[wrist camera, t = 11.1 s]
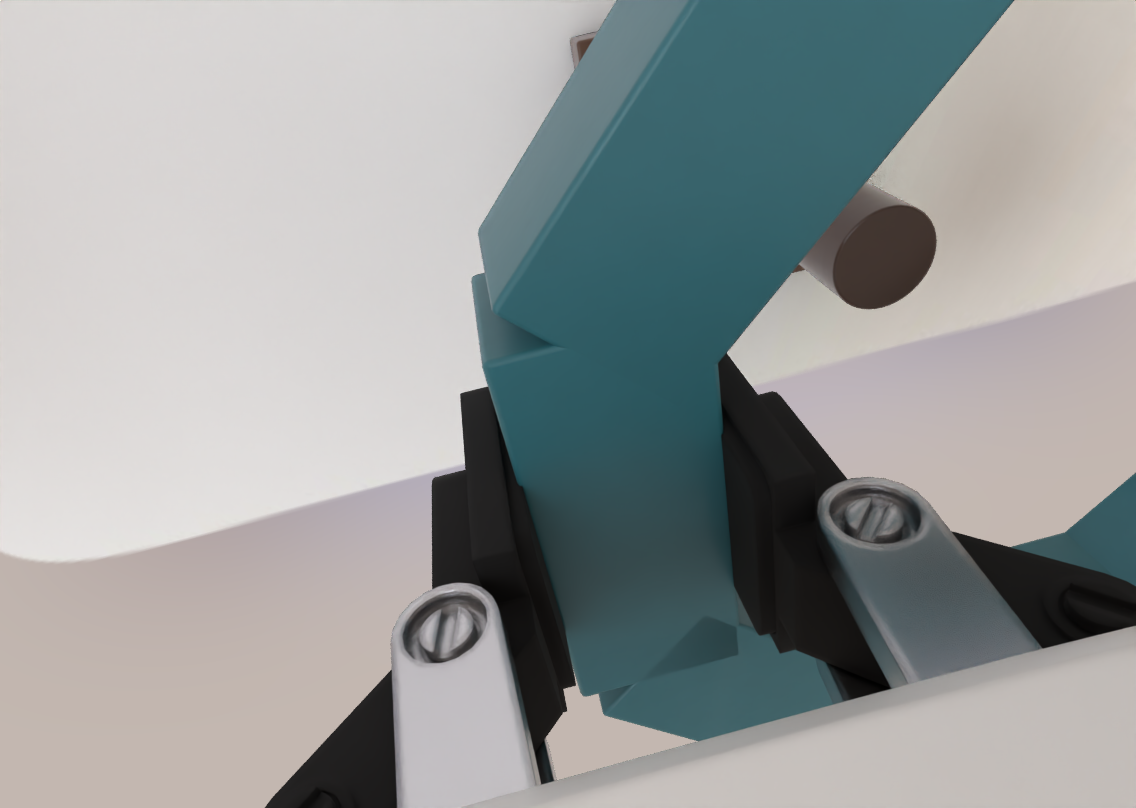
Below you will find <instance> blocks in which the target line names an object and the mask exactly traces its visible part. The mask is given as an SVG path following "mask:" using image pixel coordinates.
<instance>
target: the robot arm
mask: <svg viewBox="0 0 1136 808" xmlns="http://www.w3.org/2000/svg"><path fill="white" fill-rule="evenodd" d="M718 370H719V382H720V394H721V406H722V418H723V430H724V431H723V434H722V435H721V438H722V450H723V462H724V474H725V485H726V497H727V509H728V521H729V533H730V545H731V556H732V568H733V580H734V587H735V589H736V591H737V593H738V596H739V598H740V600H741V602H742V604H743V606H744V608H745V610H746V612H747V614H748V616H749V618H750V620H751V622H752V624H753V626H754V628H755V630H756V632H757V633H758V635H760V636H762V635H766V634H770V635H771V637H772V639H773V641H774V643H775V645H776V647H777V649H778V651H779V653H780V654H781V653H785V652H789V651H792V650H797V651H799V652H802V653H804V654H806V655H809V656H811V657H814V658H815V660H816V664H817V667H818V671H819V673H820V676H821V678H822V680H823V682H824V685H825V687H826V689H827V691H828V694H829V696H830V698H831V700H832V703H833V705H830V706H826V707H823V708H819V709H815V710H811V711H808V712H804V713H800V714H797V715H793V716H789V717H786V718H782V719H778V720H775V721H771V722H767V723H764V724H760V725H756V726H753V727H749V728H745V729H742V730H738V731H734V732H731V733H727V734H723V735H720V736H716V737H712V738H709V739H705V740H701V741H698V742H694V743H690V744H687V745H683V746H680V747H676V748H672V749H669V750H665V751H661V752H658V753H654V754H650V755H647V756H643V757H639V758H636V759H632V760H629V761H625V762H622V763H618V764H614V765H611V766H607V767H603V768H600V769H597V770H593V771H589V772H586V773H582V774H578V775H575V776H571V777H568V778H564V779H560V780H557V779H556V775H555V770H554V766H553V762H552V758H551V754H550V749H549V745H548V742H547V740H546V736H547V735H548V733H549V732H550V731H551V729H552V728H553V726H554V725H555V724H556V722H557V720H558V719H559V718H560V716H561V715H562V713H563V712H566V711H567V707H566V702H565V696H564V691H563V689H565V688H568V687H572V686H576V683H575V677H574V672H573V667H572V662H571V657H570V652H569V647H568V642H567V637H566V633H565V629H564V625H563V622H562V618H561V615H560V612H559V608H558V605H557V602H556V598H555V595H554V591H553V588H552V585H551V581H550V578H549V574H548V571H547V568H546V564H545V561H544V558H543V554H542V551H541V547H540V544H539V541H538V537H537V534H536V530H535V527H534V524H533V520H532V517H531V514H530V510H529V507H528V503H527V500H526V497H525V493H524V490H523V486H520V485H519V484H518V483H517V480H516V477H515V474H514V470H513V467H512V464H511V461H510V457H509V454H508V451H507V447H506V444H505V441H504V437H503V434H502V431H501V427H500V424H499V421H498V417H497V414H496V411H495V407H494V404H493V401H492V398H491V394H490V391H489V388H488V387H484V388H480V389H476V390H472V391H468V392H464V393H461V394H460V398H461V412H462V426H463V440H464V455H465V469H466V470H463V471H459V472H455V473H451V474H447V475H443V476H439V477H435V478H434V479H433V480H432V590H430V591H427V592H425V593H424V594H422V595H421V596H420V597H418V598H417V599H415V600H414V601H413V602H411V603H410V604H409V605H408V607H407V608H406V609H405V610H404V611H403V612H402V614H401V615H400V616H399V618H398V620H397V622H396V624H395V626H394V628H393V632H392V639H391V663H392V670H391V671H390V672H389V673H388V674H387V675H386V676H385V677H384V678H383V679H382V680H381V681H380V683H379V684H378V685H377V686H376V687H375V688H374V689H373V690H372V691H371V692H370V693H369V694H368V696H366V698H365V699H364V700H363V701H362V702H361V703H360V704H359V705H358V706H357V707H356V708H355V709H354V710H353V712H352V713H351V714H350V715H349V716H348V717H347V718H346V719H345V720H344V721H343V722H342V723H341V724H340V726H339V727H338V728H337V729H336V730H335V731H334V732H333V733H332V734H331V735H330V736H329V737H328V738H327V739H326V741H325V742H324V743H323V744H322V745H321V746H320V747H319V748H318V749H317V750H316V752H314V754H313V755H312V756H311V757H310V758H309V759H308V760H307V761H306V762H305V763H304V764H303V765H302V766H301V767H300V769H299V770H298V771H297V772H296V773H295V774H294V775H293V776H292V777H291V778H290V779H289V780H288V781H287V783H286V784H285V785H284V786H283V787H282V788H281V789H280V790H279V791H278V792H277V793H276V794H275V796H273V798H272V799H271V800H270V802H269V803H268V804H267V806H266V807H265V808H1136V586H1134V585H1133V584H1131V583H1129V582H1128V581H1125V580H1122V579H1120V578H1117V577H1114V576H1111V575H1109V574H1106V573H1103V572H1099V571H1095V570H1092V569H1088V568H1084V567H1081V566H1077V565H1073V564H1070V563H1066V562H1062V561H1059V560H1055V559H1051V558H1048V557H1044V556H1040V555H1037V554H1033V553H1029V552H1025V551H1022V550H1018V549H1014V548H1011V547H1007V546H1003V545H1000V544H996V543H992V542H989V541H985V540H981V539H977V538H974V537H970V536H967V535H963V534H959V533H956V532H952V531H950V529H949V528H948V527H947V525H946V524H945V523H944V522H943V520H942V519H941V518H940V516H939V515H938V514H937V513H936V511H935V510H934V509H933V507H932V506H931V505H930V504H929V502H928V501H927V500H926V499H924V498H923V497H922V496H921V495H920V494H919V493H918V492H917V491H915V490H913V489H911V488H909V487H908V486H906V485H904V484H902V483H899V482H895V481H892V480H888V479H884V478H874V477H863V478H851V479H847V478H846V477H845V476H844V474H843V473H842V472H841V471H840V470H839V468H838V467H837V466H836V464H835V463H834V462H833V461H832V460H831V458H830V457H829V456H828V454H827V453H826V452H825V451H824V449H823V448H822V447H821V446H820V444H819V443H818V442H817V441H816V439H815V438H814V437H813V436H812V434H811V433H810V432H809V431H808V430H807V428H806V427H805V426H804V425H803V423H802V422H801V421H800V420H799V419H798V417H797V416H796V415H795V413H794V412H793V411H792V410H791V408H790V407H789V406H788V405H787V404H786V402H785V401H784V400H783V398H782V397H781V396H780V395H778V393H777V392H773V391H772V392H768V393H764V394H760V395H758V394H757V393H756V392H755V390H754V389H753V388H752V386H751V385H750V384H749V382H748V381H747V380H746V378H745V377H744V376H743V374H742V373H741V372H740V370H739V369H738V368H737V367H736V365H735V364H734V363H733V361H732V360H731V359H730V357H729V356H728V355H727V353H726V354H725V355H724V356H723V358H722V359H721V360H720V361H719V363H718Z"/></svg>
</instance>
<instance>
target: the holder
mask: <svg viewBox="0 0 1136 808" xmlns="http://www.w3.org/2000/svg"><path fill="white" fill-rule="evenodd" d="M597 32H598V31H597ZM597 32H593V33H589V34H585V35H580V36H576V37H572V38H571V39H570V44H571V50H572V56H573V62H574V68H575V69H576V67H577V65H578V64H579V62H580V60H581V59H582V57H583V55H584V54H585V52H586V50H587V49H588V47H589V45H590V44H591V42H592V40H593V39H594V37H595V35H596V34H597ZM936 241H937V240H936V232H935V228H934V226H933V224H932V221H931V220H930V218H929V217H928V216H927V215H926V214H925V213H924V212H923V211H921V210H920V209H918V208H916V207H914V206H912V205H910V204H908V203H906V202H904V201H902V200H900V199H898V198H896V197H894V196H892V195H890V194H888V193H886V192H884V191H882V190H880V189H878V188H876V187H874V186H872V185H870V184H868V183H865V184H864V185H863V186H862V187H861V189H860V190H859V191H858V192H857V194H856V195H855V196H854V197H853V198H852V200H851V201H850V202H849V203H848V205H847V206H846V207H845V208H844V209H843V211H842V212H841V213H840V214H839V216H838V217H837V218H836V219H835V221H834V222H833V223H832V224H831V225H830V227H829V228H828V229H827V230H826V232H825V233H824V234H823V235H822V236H821V238H820V239H819V240H818V241H817V243H816V244H815V245H814V246H813V247H812V249H811V250H810V251H809V252H808V254H807V255H806V256H805V257H804V258H803V260H802V261H801V262H800V263H799V265H798V266H797V267H796V268H795V269H794V271H793V272H792V273H794V272H798V271H802V270H806V271H808V272H809V273H810V274H811V275H813V276H814V277H815V278H816V279H818V280H819V281H820V282H821V283H822V284H824V285H825V286H826V287H827V288H829V289H830V290H831V291H832V292H834V293H835V294H836V295H837V296H838V297H840V298H841V299H842V300H843V301H845V302H846V303H847V304H849V305H851V306H854V307H856V308H861V309H877V308H882V307H885V306H888V305H891V304H893V303H895V302H897V301H899V300H901V299H902V298H904V297H905V296H906V295H908V294H909V293H910V292H911V291H912V290H913V289H914V288H915V287H916V286H917V285H918V284H919V283H920V282H921V281H922V279H923V278H924V277H925V275H926V274H927V272H928V270H929V268H930V266H931V264H932V262H933V259H934V255H935V251H936Z"/></svg>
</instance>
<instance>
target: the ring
mask: <svg viewBox="0 0 1136 808" xmlns="http://www.w3.org/2000/svg"><path fill="white" fill-rule="evenodd" d="M1013 1H1014V0H617V1H616V2H615V4H614V6H613V7H612V9H611V11H610V12H609V14H608V16H607V17H606V19H605V21H604V22H603V24H602V26H601V27H600V29H599V30H598V32H597V34H596V35H595V37H594V39H593V40H592V42H591V44H590V45H589V47H588V49H587V50H586V52H585V54H584V55H583V57H582V59H581V60H580V62H579V64H578V65H577V67H576V69H575V70H574V72H573V74H572V75H571V77H570V79H569V80H568V82H567V84H566V85H565V87H564V89H563V90H562V92H561V94H560V95H559V97H558V99H557V100H556V102H555V104H554V105H553V107H552V109H551V110H550V112H549V114H548V115H547V117H546V118H545V120H544V122H543V123H542V125H541V127H540V128H539V130H538V132H537V133H536V135H535V137H534V138H533V140H532V142H531V143H530V145H529V147H528V148H527V150H526V152H525V153H524V155H523V157H522V158H521V160H520V162H519V163H518V165H517V167H516V168H515V170H514V172H513V173H512V175H511V177H510V178H509V180H508V182H507V183H506V185H505V187H504V188H503V190H502V192H501V193H500V195H499V197H498V198H497V200H496V201H495V203H494V205H493V206H492V208H491V210H490V211H489V213H488V215H487V216H486V218H485V220H484V221H483V223H482V225H481V226H480V228H479V231H478V236H479V242H480V248H481V253H482V259H483V265H484V270H485V273H482V274H478V275H475V276H473V277H472V281H471V283H472V290H473V298H474V306H475V314H476V321H477V329H478V337H479V344H480V352H481V360H482V368H483V371H484V374H485V378H486V381H487V384H488V388H489V391H490V394H491V398H492V401H493V404H494V407H495V411H496V414H497V417H498V421H499V424H500V427H501V431H502V434H503V437H504V441H505V444H506V447H507V451H508V454H509V457H510V461H511V464H512V467H513V470H514V474H515V477H516V480H517V483H518V484H519V485H520V486H523V490H524V493H525V497H526V500H527V503H528V507H529V510H530V514H531V517H532V520H533V524H534V527H535V530H536V534H537V537H538V541H539V544H540V547H541V551H542V554H543V558H544V561H545V564H546V568H547V571H548V574H549V578H550V581H551V585H552V588H553V591H554V595H555V598H556V602H557V605H558V608H559V612H560V615H561V618H562V622H563V625H564V629H565V633H566V637H567V642H568V647H569V652H570V657H571V662H572V666H573V669H574V673H575V676H576V679H577V683H578V686H579V689H580V692H581V694H582V695H583V696H591V695H594V694H598V693H599V697H600V702H601V706H602V710H603V714H604V715H605V716H608V717H612V718H616V719H619V720H623V721H627V722H631V723H634V724H637V725H641V726H645V727H648V728H652V729H656V730H660V731H663V732H667V733H670V734H674V735H678V736H681V737H685V738H688V739H692V740H696V741H701V740H705V739H709V738H712V737H716V736H720V735H723V734H727V733H731V732H734V731H738V730H742V729H745V728H749V727H753V726H756V725H760V724H764V723H767V722H771V721H775V720H778V719H782V718H786V717H789V716H793V715H797V714H800V713H804V712H808V711H811V710H815V709H819V708H823V707H826V706H830V705H833V703H832V700H831V698H830V696H829V694H828V691H827V689H826V687H825V685H824V682H823V680H822V678H821V676H820V673H819V671H818V667H817V664H816V660H815V658H814V657H811V656H809V655H806V654H804V653H802V652H799V651H797V650H792V651H789V652H785V653H781V654H780V653H779V651H778V649H777V647H776V645H775V643H774V641H773V639H772V637H771V635H770V634H766V635H762V636H760V635H758V633H757V632H756V630H755V628H754V626H753V624H752V622H751V620H750V618H749V616H748V614H747V612H746V610H745V608H744V606H743V604H742V602H741V600H740V598H739V596H738V593H737V591H736V589H735V587H734V580H733V568H732V556H731V545H730V533H729V521H728V509H727V497H726V485H725V474H724V462H723V450H722V438H721V435H722V434H723V431H724V430H723V418H722V406H721V394H720V382H719V370H718V363H719V361H720V360H721V359H722V358H723V356H724V355H725V354H726V353H727V352H728V350H729V349H730V348H731V347H732V345H733V344H734V343H735V342H736V341H737V339H738V338H739V337H740V336H741V334H742V333H743V332H744V331H745V329H746V328H747V327H748V326H749V325H750V323H751V322H752V321H753V320H754V318H755V317H756V316H757V315H758V314H759V312H760V311H761V310H762V309H763V307H764V306H765V305H766V304H767V303H768V301H769V300H770V299H771V298H772V296H773V295H774V294H775V293H776V292H777V290H778V289H779V288H780V287H781V285H782V284H783V283H784V282H785V281H786V279H787V278H788V277H789V276H790V274H791V273H792V272H793V271H794V269H795V268H796V267H797V266H798V265H799V263H800V262H801V261H802V260H803V258H804V257H805V256H806V255H807V254H808V252H809V251H810V250H811V249H812V247H813V246H814V245H815V244H816V243H817V241H818V240H819V239H820V238H821V236H822V235H823V234H824V233H825V232H826V230H827V229H828V228H829V227H830V225H831V224H832V223H833V222H834V221H835V219H836V218H837V217H838V216H839V214H840V213H841V212H842V211H843V209H844V208H845V207H846V206H847V205H848V203H849V202H850V201H851V200H852V198H853V197H854V196H855V195H856V194H857V192H858V191H859V190H860V189H861V187H862V186H863V185H864V184H865V183H866V181H867V180H868V179H869V178H870V176H871V175H872V174H873V173H874V172H875V170H876V169H877V168H878V167H879V165H880V164H881V163H882V162H883V161H884V159H885V158H886V157H887V156H888V154H889V153H890V152H891V151H892V149H893V148H894V147H895V146H896V145H897V143H898V142H899V141H900V140H901V138H902V137H903V136H904V135H905V134H906V132H907V131H908V130H909V129H910V127H911V126H912V125H913V124H914V123H915V121H916V120H917V119H918V118H919V116H920V115H921V114H922V113H923V112H924V110H925V109H926V108H927V107H928V105H929V104H930V103H931V102H932V101H933V99H934V98H935V97H936V96H937V94H938V93H939V92H940V91H941V89H942V88H943V87H944V86H945V85H946V83H947V82H948V81H949V80H950V78H951V77H952V76H953V75H954V74H955V72H956V71H957V70H958V69H959V67H960V66H961V65H962V64H963V63H964V61H965V60H966V59H967V58H968V56H969V55H970V54H971V53H972V52H973V50H974V49H975V48H976V47H977V45H978V44H979V43H980V42H981V41H982V39H983V38H984V37H985V36H986V34H987V33H988V32H989V31H990V29H991V28H992V27H993V26H994V25H995V23H996V22H997V21H998V20H999V18H1000V17H1001V16H1002V15H1003V14H1004V12H1005V11H1006V10H1007V9H1008V7H1009V6H1010V5H1011V4H1012V3H1013ZM1011 548H1014V549H1018V550H1022V551H1025V552H1029V553H1033V554H1037V555H1040V556H1044V557H1048V558H1051V559H1055V560H1059V561H1062V562H1066V563H1070V564H1073V565H1077V566H1081V567H1084V568H1088V569H1092V570H1095V571H1099V572H1103V573H1106V574H1109V575H1111V576H1114V577H1117V578H1120V579H1122V580H1125V581H1128V582H1129V583H1131V584H1133V585H1134V586H1136V473H1135V474H1134V475H1132V476H1131V477H1130V478H1129V479H1128V480H1127V481H1125V482H1124V483H1123V484H1122V485H1121V486H1120V487H1118V488H1117V489H1116V490H1115V491H1114V492H1112V493H1111V494H1110V495H1109V496H1108V497H1107V498H1105V499H1104V500H1103V501H1102V502H1100V503H1099V504H1098V505H1097V506H1096V507H1095V508H1093V509H1092V510H1091V511H1090V512H1089V513H1088V514H1086V515H1085V516H1084V517H1083V518H1082V519H1080V520H1079V521H1078V522H1077V523H1076V524H1074V525H1073V526H1072V527H1071V528H1070V529H1069V530H1067V531H1066V532H1065V533H1061V534H1057V535H1054V536H1050V537H1046V538H1043V539H1039V540H1035V541H1031V542H1028V543H1024V544H1020V545H1017V546H1013V547H1011Z"/></svg>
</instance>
